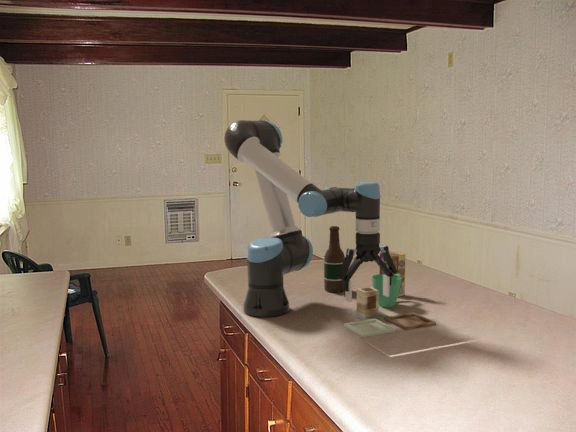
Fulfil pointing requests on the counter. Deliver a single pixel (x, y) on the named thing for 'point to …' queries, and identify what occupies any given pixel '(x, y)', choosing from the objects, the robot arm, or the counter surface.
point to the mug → (393, 289)
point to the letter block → (367, 302)
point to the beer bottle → (333, 263)
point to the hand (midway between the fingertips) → (367, 298)
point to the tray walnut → (409, 321)
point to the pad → (355, 314)
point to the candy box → (397, 267)
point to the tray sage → (369, 327)
